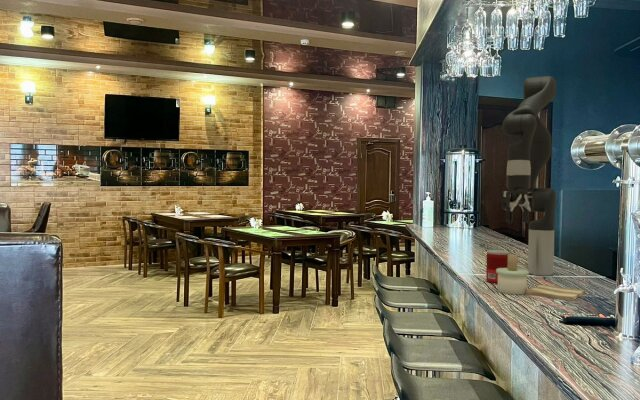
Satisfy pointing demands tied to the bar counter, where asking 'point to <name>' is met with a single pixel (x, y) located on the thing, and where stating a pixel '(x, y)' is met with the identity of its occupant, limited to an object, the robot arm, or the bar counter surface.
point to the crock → (512, 284)
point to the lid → (512, 268)
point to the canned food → (495, 264)
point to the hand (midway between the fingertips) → (517, 222)
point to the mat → (556, 292)
